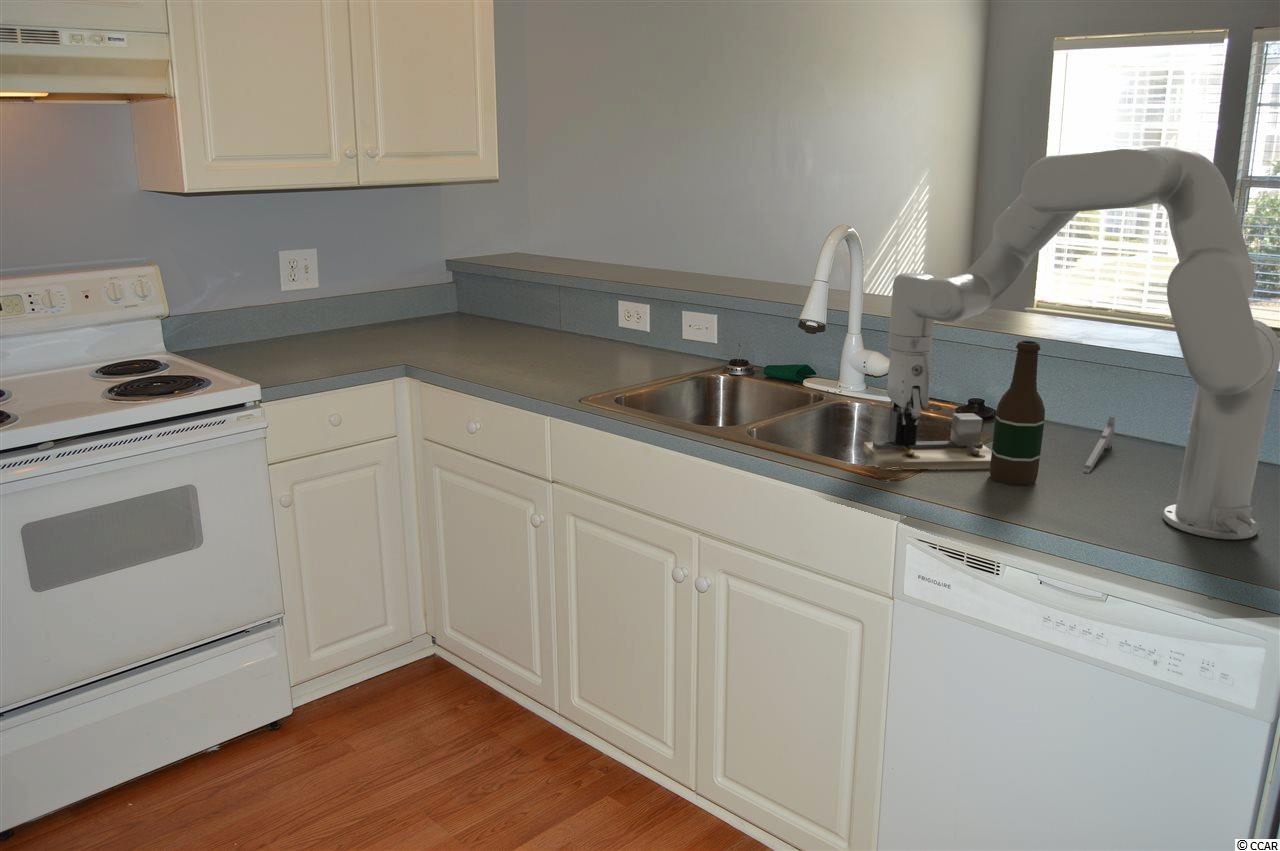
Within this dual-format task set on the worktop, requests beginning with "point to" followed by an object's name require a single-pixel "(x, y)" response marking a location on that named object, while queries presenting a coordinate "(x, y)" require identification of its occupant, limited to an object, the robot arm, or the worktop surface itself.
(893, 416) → the block
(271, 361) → the worktop surface
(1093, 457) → the caliper
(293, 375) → the worktop surface
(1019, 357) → the beer bottle
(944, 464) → the board
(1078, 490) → the worktop surface
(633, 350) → the worktop surface
